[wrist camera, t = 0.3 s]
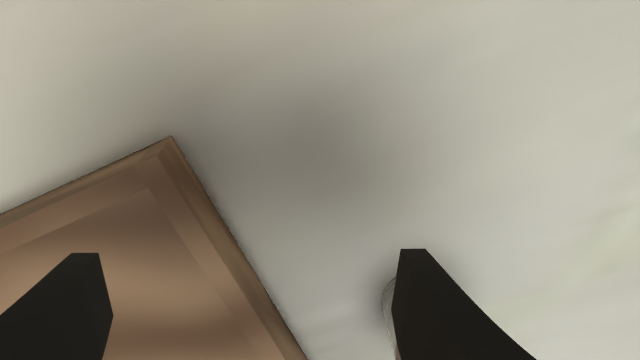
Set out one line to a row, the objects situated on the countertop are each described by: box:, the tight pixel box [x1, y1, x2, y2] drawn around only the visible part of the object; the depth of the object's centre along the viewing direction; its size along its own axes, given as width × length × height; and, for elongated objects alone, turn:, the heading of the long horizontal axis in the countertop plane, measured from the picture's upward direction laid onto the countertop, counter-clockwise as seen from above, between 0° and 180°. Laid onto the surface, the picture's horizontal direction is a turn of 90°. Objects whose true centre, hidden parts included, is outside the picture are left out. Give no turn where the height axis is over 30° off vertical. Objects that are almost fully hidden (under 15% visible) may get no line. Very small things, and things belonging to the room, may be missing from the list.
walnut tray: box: [0, 136, 308, 360], centre depth 24 cm, size 18×14×2 cm
